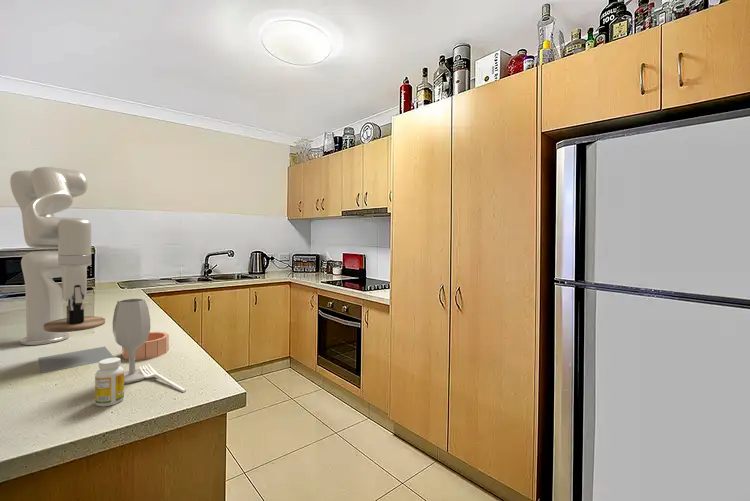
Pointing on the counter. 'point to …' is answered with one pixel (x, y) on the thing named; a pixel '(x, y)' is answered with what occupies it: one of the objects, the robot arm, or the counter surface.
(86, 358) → the mat
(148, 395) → the counter surface
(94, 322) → the lid
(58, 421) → the counter surface
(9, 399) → the counter surface
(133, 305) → the wineglass
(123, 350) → the bowl
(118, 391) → the supplement bottle
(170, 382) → the fork
